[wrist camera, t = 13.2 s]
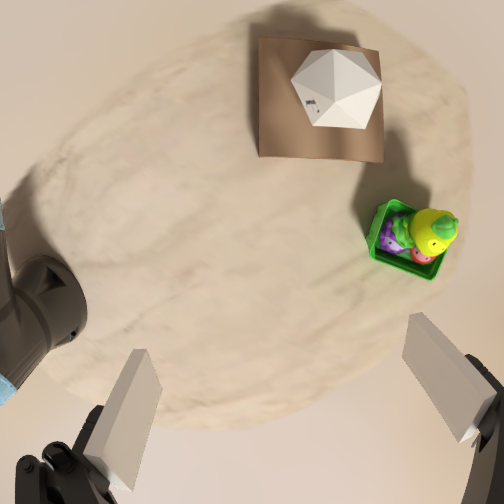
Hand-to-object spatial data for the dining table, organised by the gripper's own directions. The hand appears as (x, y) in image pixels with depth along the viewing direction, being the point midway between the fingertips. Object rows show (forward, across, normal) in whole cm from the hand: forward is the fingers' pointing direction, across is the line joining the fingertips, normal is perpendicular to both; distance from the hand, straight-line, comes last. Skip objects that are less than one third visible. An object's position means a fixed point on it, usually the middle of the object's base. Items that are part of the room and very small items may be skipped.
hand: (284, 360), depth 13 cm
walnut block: (+25, +9, +16) cm, 31 cm away
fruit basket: (+24, +19, -1) cm, 31 cm away
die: (+20, +9, +16) cm, 27 cm away
